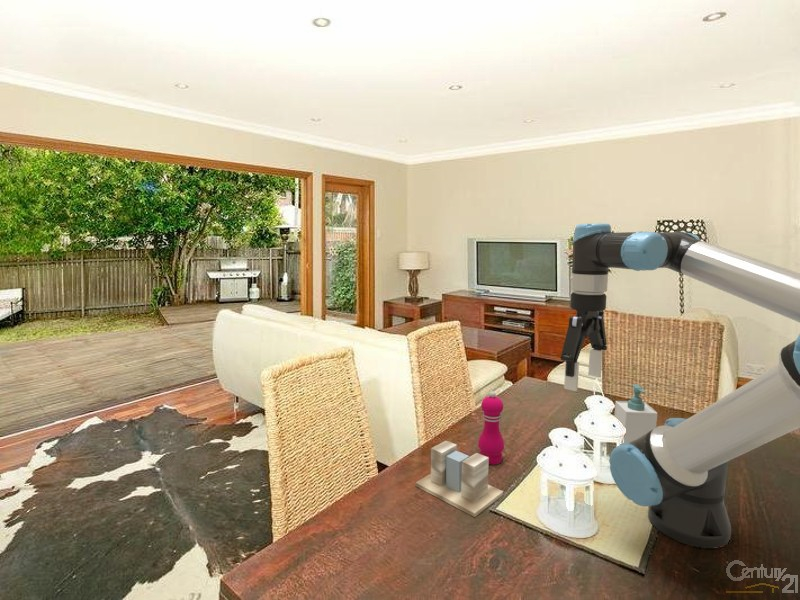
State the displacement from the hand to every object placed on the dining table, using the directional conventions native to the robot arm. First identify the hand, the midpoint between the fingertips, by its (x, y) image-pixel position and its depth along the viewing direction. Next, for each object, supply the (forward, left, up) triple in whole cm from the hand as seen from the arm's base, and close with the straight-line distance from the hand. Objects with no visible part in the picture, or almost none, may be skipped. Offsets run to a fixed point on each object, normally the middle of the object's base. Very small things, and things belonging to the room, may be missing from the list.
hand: (583, 382), depth 104 cm
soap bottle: (-2, -36, -29) cm, 47 cm away
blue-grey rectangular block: (+22, +18, -28) cm, 40 cm away
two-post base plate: (+22, +18, -29) cm, 40 cm away
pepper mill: (+25, -1, -29) cm, 38 cm away
